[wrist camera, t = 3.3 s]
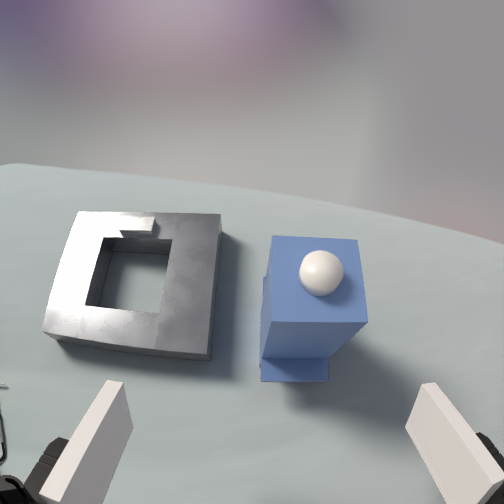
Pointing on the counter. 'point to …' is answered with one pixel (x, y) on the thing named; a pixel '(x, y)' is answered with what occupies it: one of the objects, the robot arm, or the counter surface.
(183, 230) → the plate
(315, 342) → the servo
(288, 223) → the counter surface
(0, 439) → the multimeter
